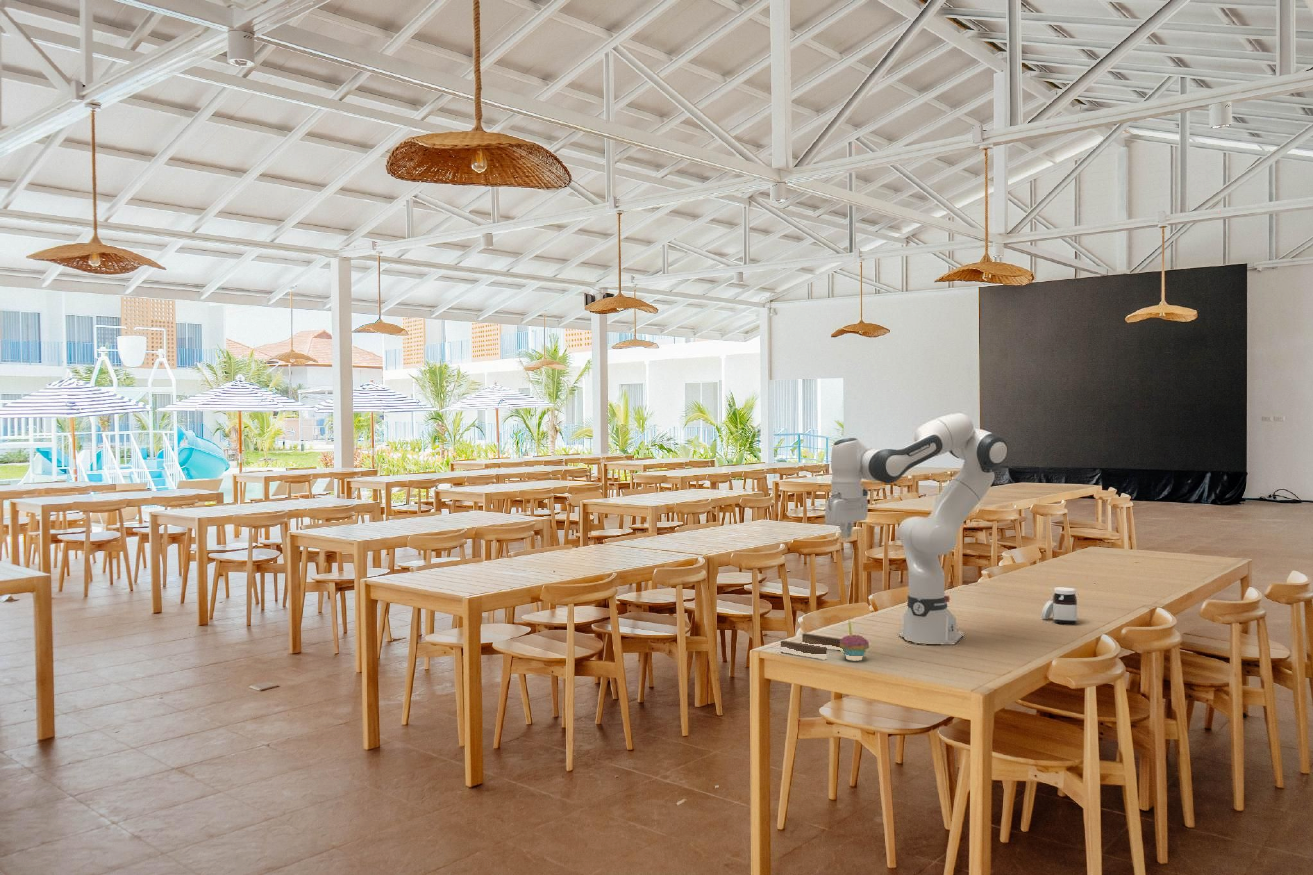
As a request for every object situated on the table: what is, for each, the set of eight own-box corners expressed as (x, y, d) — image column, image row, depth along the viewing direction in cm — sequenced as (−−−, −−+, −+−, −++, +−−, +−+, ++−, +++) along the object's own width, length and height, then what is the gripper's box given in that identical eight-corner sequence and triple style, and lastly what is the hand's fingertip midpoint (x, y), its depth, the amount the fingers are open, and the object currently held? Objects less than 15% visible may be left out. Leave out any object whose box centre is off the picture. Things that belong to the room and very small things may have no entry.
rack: (804, 644, 306) (804, 633, 306) (847, 651, 296) (847, 639, 296) (780, 652, 295) (780, 641, 295) (824, 660, 285) (824, 648, 285)
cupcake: (854, 664, 281) (854, 623, 280) (833, 658, 288) (833, 618, 287) (874, 659, 286) (874, 619, 285) (853, 654, 292) (853, 614, 292)
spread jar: (1078, 626, 328) (1078, 592, 328) (1042, 624, 332) (1042, 590, 331) (1075, 619, 339) (1075, 586, 339) (1040, 617, 343) (1040, 584, 343)
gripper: (838, 494, 283) (838, 542, 283) (871, 490, 299) (871, 535, 299) (819, 493, 287) (819, 540, 287) (852, 489, 303) (853, 533, 303)
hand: (846, 537), depth 293 cm, fingers closed
